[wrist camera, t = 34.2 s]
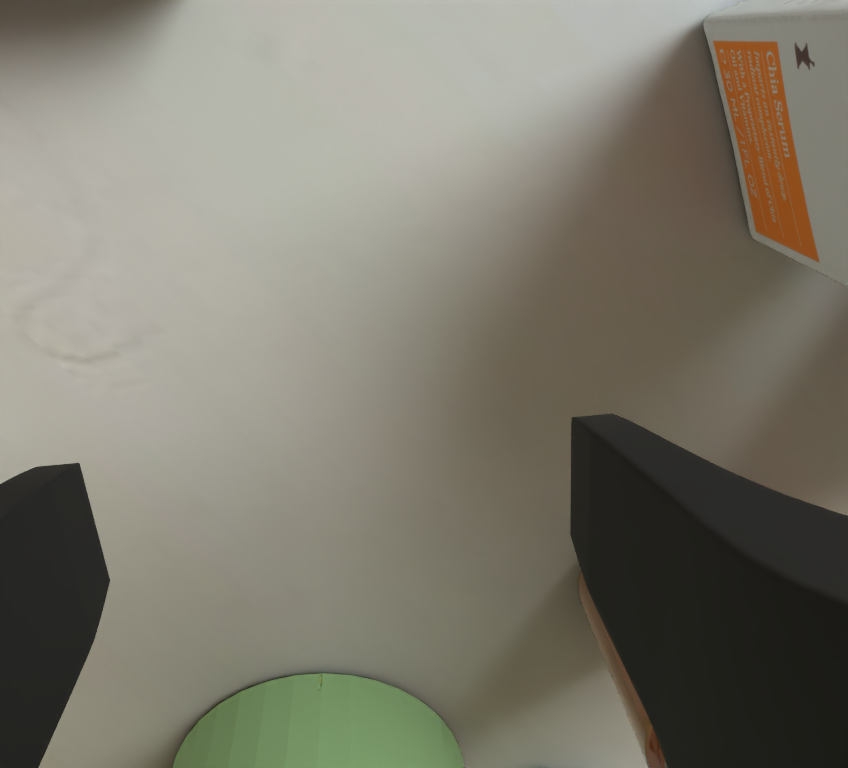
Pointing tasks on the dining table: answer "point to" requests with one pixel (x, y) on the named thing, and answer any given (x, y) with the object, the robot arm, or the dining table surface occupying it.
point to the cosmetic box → (789, 122)
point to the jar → (623, 684)
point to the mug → (320, 728)
